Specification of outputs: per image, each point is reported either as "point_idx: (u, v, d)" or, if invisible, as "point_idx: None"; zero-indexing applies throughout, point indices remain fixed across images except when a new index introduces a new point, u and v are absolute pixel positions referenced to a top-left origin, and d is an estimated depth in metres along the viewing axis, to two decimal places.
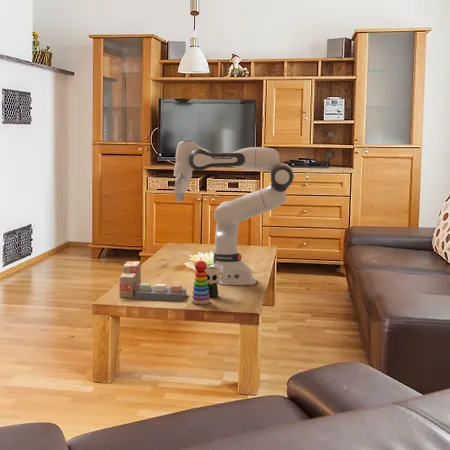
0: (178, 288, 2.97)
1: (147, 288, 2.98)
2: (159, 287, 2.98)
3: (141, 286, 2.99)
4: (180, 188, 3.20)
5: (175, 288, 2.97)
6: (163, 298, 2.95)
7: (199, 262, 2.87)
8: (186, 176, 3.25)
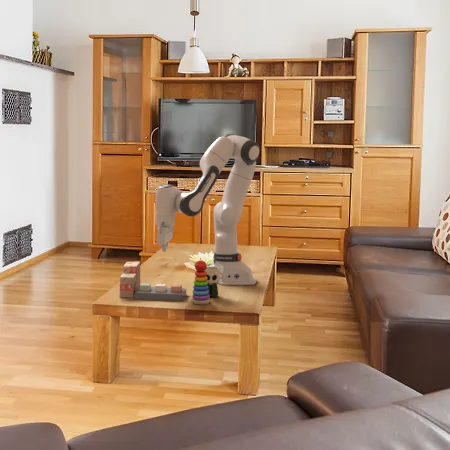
0: (178, 288, 2.97)
1: (147, 288, 2.98)
2: (159, 287, 2.98)
3: (141, 286, 2.99)
4: (163, 238, 2.96)
5: (175, 288, 2.97)
6: (163, 298, 2.95)
7: (199, 262, 2.87)
8: (168, 224, 3.01)
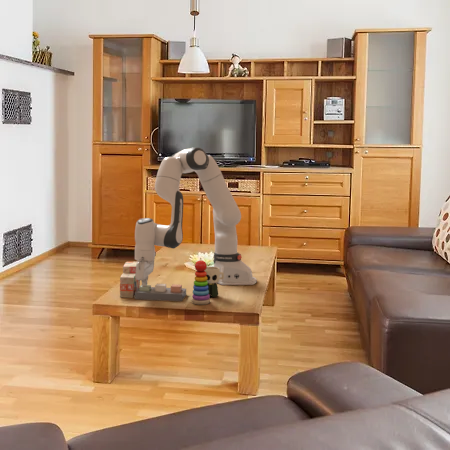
0: (178, 288, 2.97)
1: (147, 290, 2.99)
2: (159, 287, 2.98)
3: (141, 288, 2.99)
4: (142, 274, 2.90)
5: (175, 288, 2.97)
6: (163, 298, 2.95)
7: (199, 262, 2.87)
8: (148, 259, 2.95)
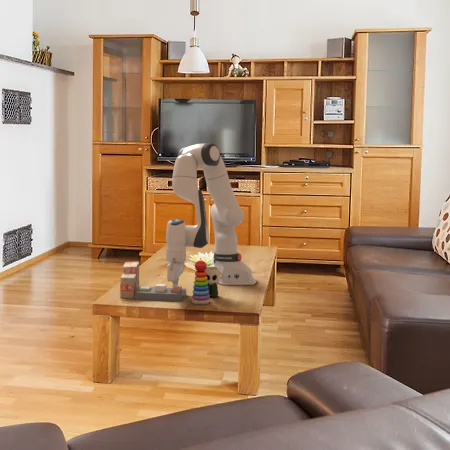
0: (178, 290, 2.97)
1: None
2: (159, 287, 2.98)
3: (141, 289, 2.99)
4: (174, 275, 2.88)
5: (175, 290, 2.97)
6: (163, 298, 2.95)
7: (199, 262, 2.87)
8: (179, 260, 2.94)
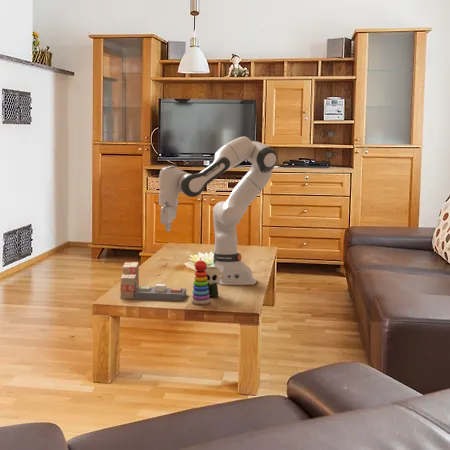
0: (178, 291, 2.97)
1: None
2: (159, 287, 2.98)
3: (141, 289, 2.99)
4: (166, 217, 3.02)
5: (175, 291, 2.97)
6: (163, 298, 2.95)
7: (199, 262, 2.87)
8: (172, 204, 3.08)
